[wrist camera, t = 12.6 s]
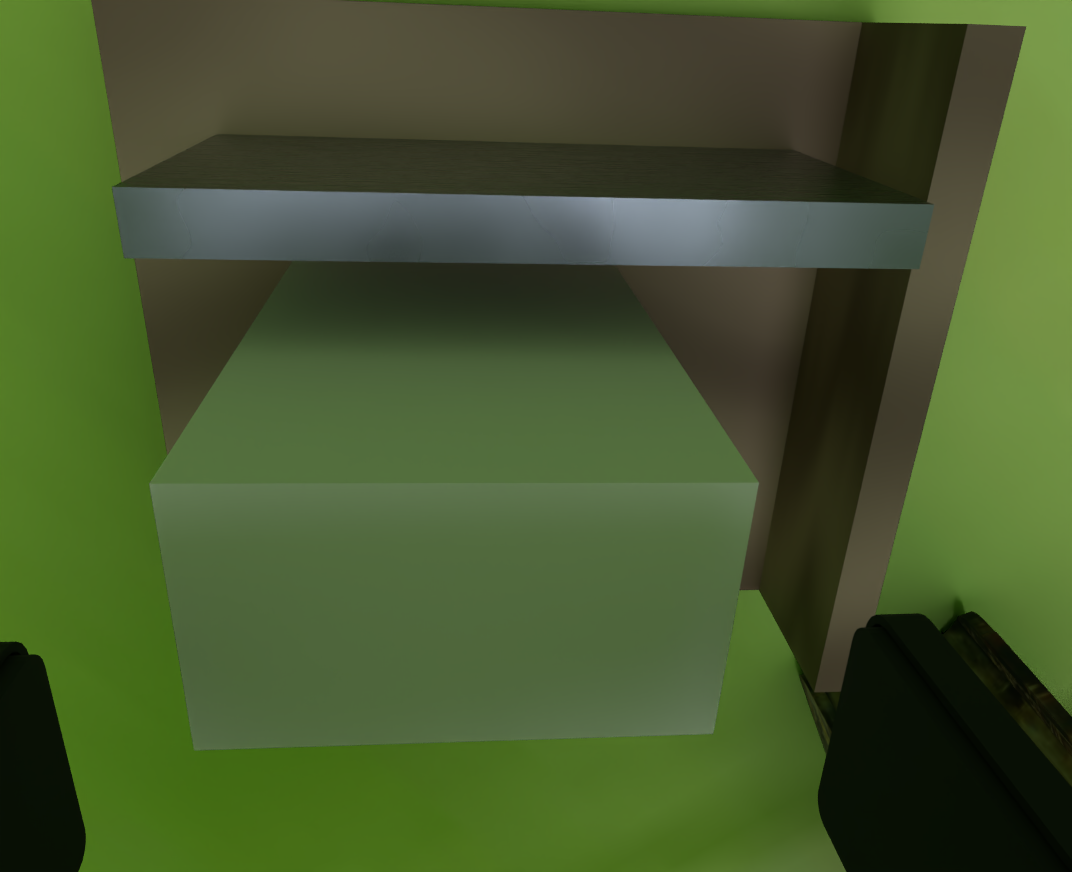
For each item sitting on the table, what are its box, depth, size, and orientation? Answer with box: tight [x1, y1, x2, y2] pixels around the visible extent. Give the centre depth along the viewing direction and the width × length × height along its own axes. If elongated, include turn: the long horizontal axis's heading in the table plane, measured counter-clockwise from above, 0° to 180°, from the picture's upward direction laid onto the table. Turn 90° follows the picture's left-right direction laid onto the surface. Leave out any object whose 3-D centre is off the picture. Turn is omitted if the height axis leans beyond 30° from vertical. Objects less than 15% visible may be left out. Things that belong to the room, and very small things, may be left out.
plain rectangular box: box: [149, 261, 759, 750], centre depth 15 cm, size 4×7×10 cm, turn 87°
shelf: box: [91, 0, 1026, 692], centre depth 18 cm, size 14×16×8 cm
